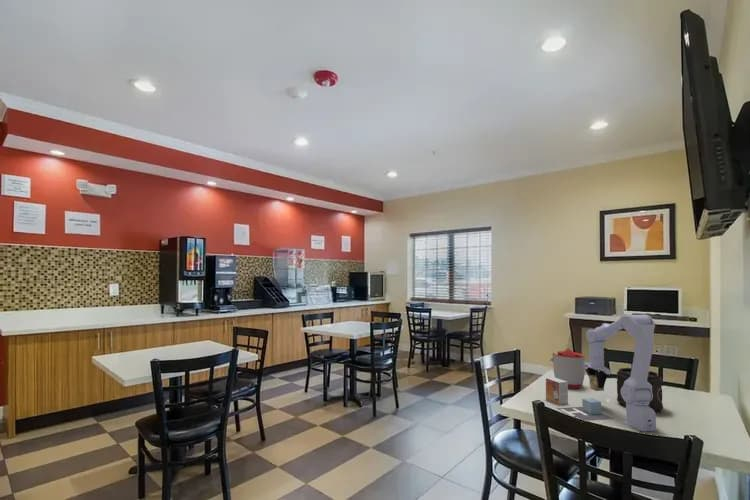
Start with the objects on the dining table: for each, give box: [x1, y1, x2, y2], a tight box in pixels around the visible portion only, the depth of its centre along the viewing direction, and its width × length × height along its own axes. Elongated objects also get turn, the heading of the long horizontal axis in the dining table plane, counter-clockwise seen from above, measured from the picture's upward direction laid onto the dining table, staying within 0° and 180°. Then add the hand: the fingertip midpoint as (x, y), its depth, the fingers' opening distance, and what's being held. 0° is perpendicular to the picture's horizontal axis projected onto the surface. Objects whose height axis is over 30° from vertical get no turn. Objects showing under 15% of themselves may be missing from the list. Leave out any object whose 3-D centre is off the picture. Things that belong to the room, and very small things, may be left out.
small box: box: [545, 376, 569, 405], centre depth 178 cm, size 8×6×10 cm
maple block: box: [588, 375, 605, 392], centre depth 174 cm, size 4×4×6 cm
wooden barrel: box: [616, 367, 664, 414], centre depth 174 cm, size 18×18×16 cm
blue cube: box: [581, 397, 602, 414], centre depth 165 cm, size 5×5×5 cm
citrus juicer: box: [549, 347, 586, 390], centre depth 206 cm, size 16×17×20 cm
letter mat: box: [556, 406, 615, 422], centre depth 163 cm, size 15×16×1 cm
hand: (597, 386), depth 174 cm, fingers closed on maple block, 4 cm apart
